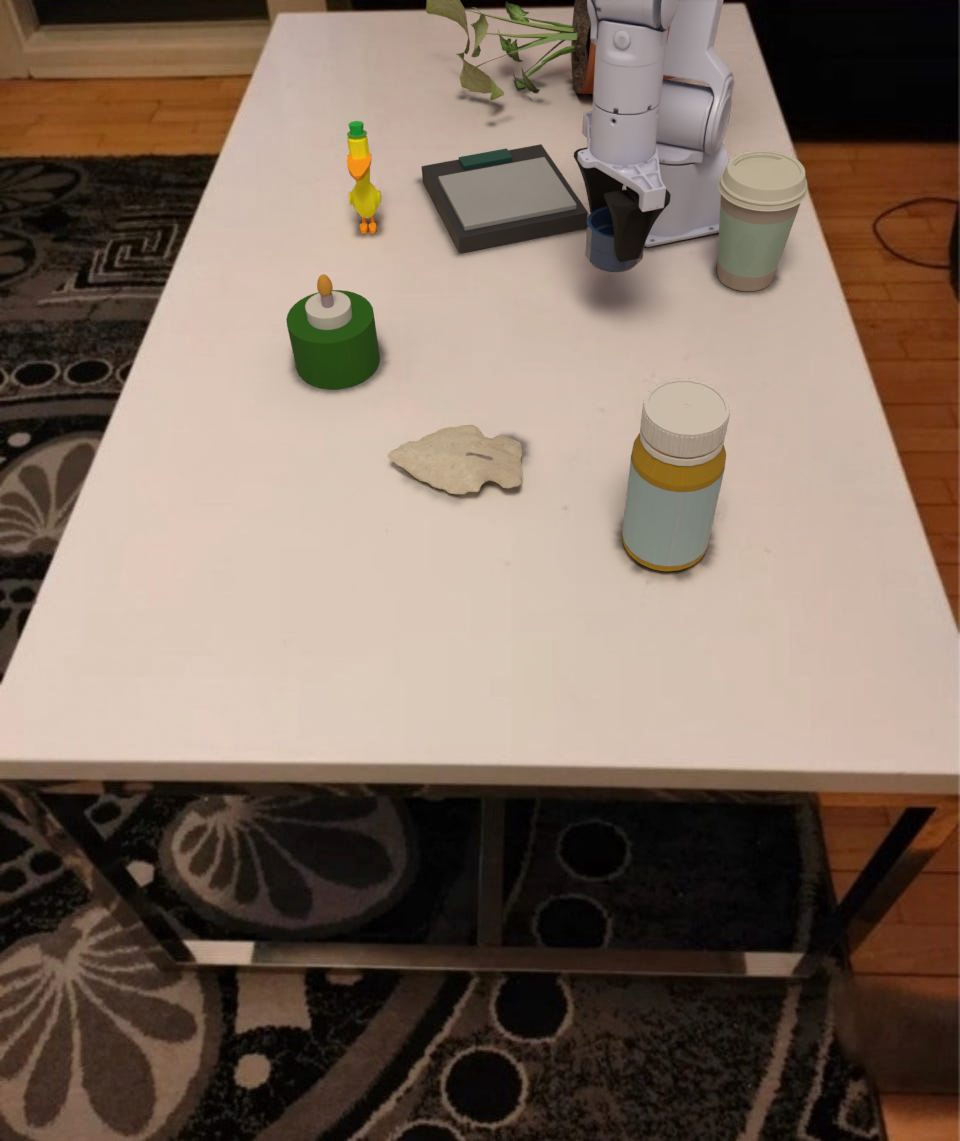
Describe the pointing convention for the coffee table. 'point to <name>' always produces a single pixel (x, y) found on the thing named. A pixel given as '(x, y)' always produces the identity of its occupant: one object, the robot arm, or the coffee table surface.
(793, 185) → the coffee cup
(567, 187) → the scale
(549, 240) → the coffee table surface
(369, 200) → the toy figure
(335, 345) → the candle
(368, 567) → the coffee table surface
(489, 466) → the decorative stone
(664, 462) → the bottle
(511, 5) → the potted plant
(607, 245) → the blue cup
